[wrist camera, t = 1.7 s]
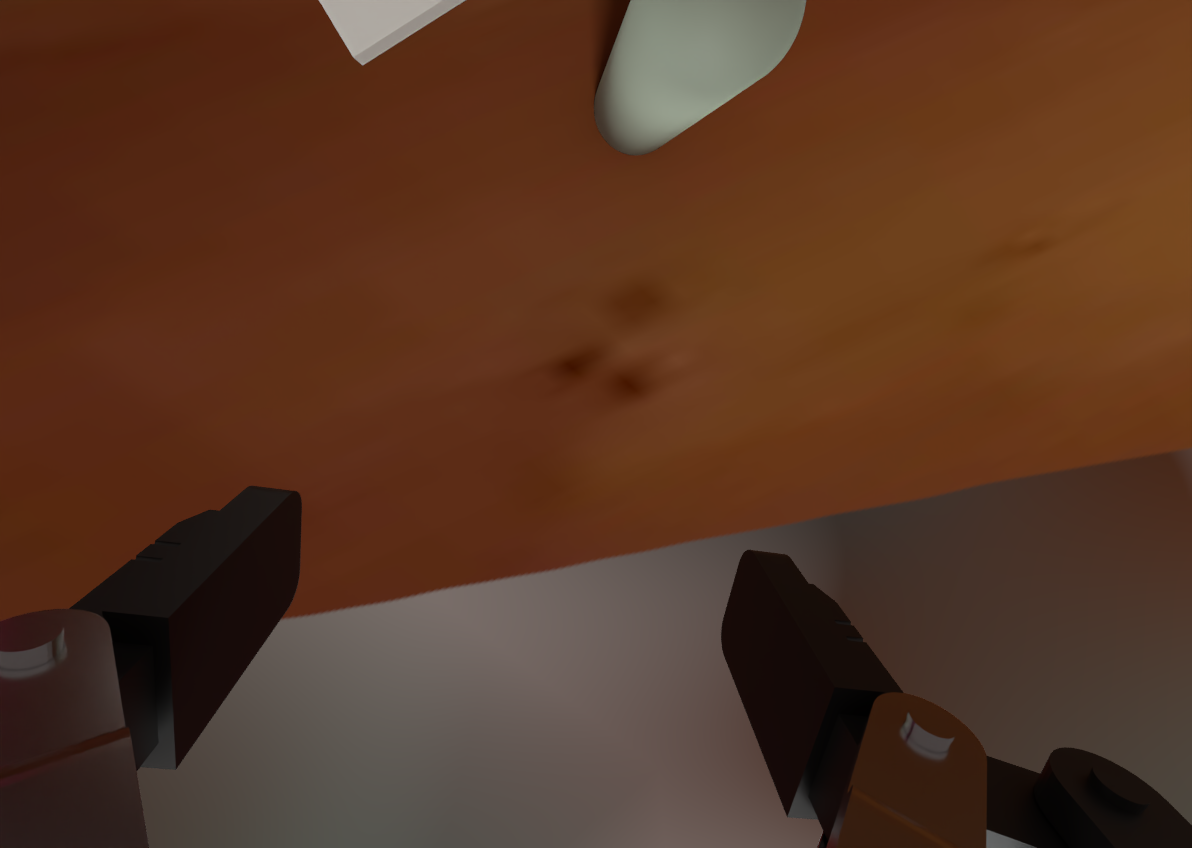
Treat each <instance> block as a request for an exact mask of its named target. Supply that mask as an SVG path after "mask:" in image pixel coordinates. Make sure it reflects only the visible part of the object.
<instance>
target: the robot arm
mask: <svg viewBox="0 0 1192 848" xmlns="http://www.w3.org/2000/svg"><path fill="white" fill-rule="evenodd" d="M301 514H302V503H301V497H300V494H299V493H298V492H297V491H289V490H282V489H274V488H266V487H258V486H249V487H247V488H246V489H245V490H243V491H242V492H241V493H240V494H239V495H238V496H236V497H235V498H234V499H233V500H232V501H231V502H229V503H228V504H227V505H226V506H225V507H224V508H222V509H221V510H220V511H216V510H208V511H205V512H203V513H201V514H198V515H196V516H193V517H191V518H188V519H186V520H184V521H181V522H179V523H177V524H176V525H174V526H173V527H172V528H171V529H169V530H168V531H167V532H166V533H164V534H163V535H162V536H161V537H159V538H158V539H157V540H155V544H150V545H149V546H148V547H147V548H145V549H144V550H143V551H142V552H140V553H139V554H138V555H136V559H135V560H132V559H131V560H130V561H129V562H128V563H126V564H125V565H124V566H123V567H121V568H120V569H119V570H118V571H116V572H115V573H114V574H112V575H111V576H110V577H109V578H107V579H106V580H105V581H104V582H102V583H101V584H100V585H99V586H97V587H96V588H95V589H93V590H92V591H91V592H90V593H88V594H87V595H86V596H85V597H83V598H82V599H81V600H80V601H78V602H77V603H76V604H74V605H73V606H72V607H71V608H69V609H53V610H43V611H38V612H32V613H27V614H23V615H19V616H15V617H12V618H9V619H6V620H3V621H0V848H149V844H148V838H147V832H146V826H145V820H144V813H143V807H142V801H141V795H140V789H139V783H138V777H137V770H138V769H139V768H140V767H147V768H160V769H174V770H176V769H177V767H178V766H179V765H180V763H181V762H182V760H183V759H184V757H185V756H186V754H187V753H188V751H189V750H190V749H191V747H192V746H193V744H194V743H195V742H196V740H197V739H198V737H199V736H200V734H201V733H202V731H203V730H204V729H205V727H206V726H207V724H208V723H209V721H210V720H211V719H212V717H213V716H214V714H215V713H216V711H217V710H218V708H219V707H220V706H221V704H222V703H223V701H224V700H225V698H226V697H227V696H228V694H229V693H230V691H231V690H232V688H233V687H234V685H235V684H236V683H237V681H238V680H239V678H240V677H241V675H242V674H243V672H244V671H245V670H246V668H247V666H248V665H249V664H250V662H251V661H252V660H253V658H254V657H255V655H256V654H257V652H258V651H259V649H260V648H261V647H262V645H263V644H264V642H265V641H266V640H267V638H268V637H269V635H270V634H271V632H272V631H273V629H274V628H275V627H276V625H277V624H278V622H279V621H280V619H281V618H282V617H283V615H284V614H285V612H286V611H287V609H288V608H289V606H290V604H291V602H292V600H293V598H294V595H295V592H296V589H297V585H298V580H299V574H300V548H301ZM850 623H851V622H850V620H849V619H848V617H847V616H846V615H845V613H844V612H843V611H842V609H841V608H840V607H839V605H838V604H837V603H836V602H835V601H834V600H833V599H831V598H830V597H829V596H828V595H826V594H825V593H824V592H822V591H821V590H820V589H819V588H817V587H816V586H815V585H814V584H808V582H807V581H806V579H805V578H804V577H803V575H802V574H801V572H800V571H799V569H798V568H797V567H796V565H795V564H794V562H793V561H792V559H791V558H790V557H789V556H788V555H785V554H778V553H770V552H762V551H753V550H747V551H745V552H744V553H743V555H742V557H741V559H740V562H739V565H738V569H737V572H736V576H735V579H734V583H733V586H732V590H731V593H730V597H729V600H728V604H727V607H726V611H725V615H724V618H723V623H722V632H721V642H722V650H723V654H724V657H725V659H726V662H727V664H728V667H729V669H730V672H731V675H732V677H733V680H734V682H735V685H736V687H737V690H738V693H739V695H740V697H741V700H742V703H743V705H744V708H745V710H746V713H747V715H748V718H749V721H750V723H751V726H752V728H753V730H754V733H755V736H756V738H757V741H758V743H759V746H760V749H761V751H762V754H763V756H764V759H765V761H766V764H767V767H768V769H769V771H770V774H771V777H772V779H773V782H774V784H775V787H776V790H777V792H778V795H779V797H780V800H781V802H782V805H783V807H784V810H785V812H786V815H787V817H791V818H805V819H818V820H819V822H820V824H821V827H822V829H823V833H822V835H821V838H820V840H819V843H818V845H817V848H1192V825H1191V824H1190V823H1189V822H1188V821H1187V820H1186V819H1184V817H1182V815H1181V814H1180V813H1179V812H1178V811H1177V810H1176V809H1174V807H1173V806H1172V805H1171V804H1169V802H1168V801H1167V800H1165V799H1164V798H1163V797H1162V796H1161V795H1160V794H1159V793H1158V792H1157V791H1155V790H1154V789H1153V788H1152V787H1151V786H1149V785H1148V784H1147V783H1145V782H1144V781H1142V780H1141V779H1140V778H1138V777H1137V776H1136V775H1134V774H1132V773H1130V772H1129V771H1128V770H1126V769H1124V768H1123V767H1120V766H1119V765H1117V764H1115V763H1113V762H1111V761H1109V760H1107V759H1105V758H1103V757H1101V756H1098V755H1096V754H1093V753H1090V752H1087V751H1084V750H1080V749H1075V748H1059V749H1056V750H1054V751H1053V752H1052V753H1051V754H1050V756H1049V758H1048V760H1047V762H1046V764H1045V766H1044V768H1043V770H1042V771H1041V773H1040V774H1039V773H1036V772H1034V771H1030V770H1028V769H1025V768H1022V767H1019V766H1016V765H1013V764H1010V763H1007V762H1004V761H1001V760H998V759H995V758H992V757H989V756H986V753H985V751H984V748H983V746H982V745H981V743H980V741H979V740H978V739H977V737H976V736H975V735H974V734H973V733H972V732H971V730H970V729H969V728H968V727H967V726H966V725H964V724H963V723H962V722H961V721H960V720H959V719H957V718H956V717H955V716H953V715H952V714H951V713H949V712H948V711H946V710H944V709H943V708H941V707H939V706H937V705H936V704H934V703H932V702H929V701H927V700H925V699H923V698H920V697H917V696H914V695H910V694H906V693H903V691H902V690H901V689H900V687H899V686H898V685H897V683H896V682H895V681H894V679H893V678H892V677H891V675H890V674H889V673H888V671H887V670H886V668H885V667H884V666H883V665H882V663H881V662H880V661H879V659H878V658H877V657H876V655H875V654H874V652H873V651H872V650H871V648H870V647H869V646H868V645H867V643H865V642H863V638H862V637H861V635H860V634H859V632H858V631H857V630H856V628H855V627H854V626H852V625H851V624H850Z"/></svg>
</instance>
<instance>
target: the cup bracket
mask: <svg viewBox="0 0 1192 848" xmlns="http://www.w3.org/2000/svg"><path fill="white" fill-rule="evenodd" d="M319 1H320V3H321V4H322V6H323V8H324V9H325V11H326V13H327V14H328V16H329V18H330V19H331V21H332V23H333V24H334V26H335V28H336V29H337V31H338V33H339V34H340V36H341V38H342V39H343V41H344V43H345V44H346V46H347V48H348V49H349V51H350V53H351V54H352V56H353V58H355V59H356V60H357V61H358V62H359V63H360V64H362V65H364V64H366V63H367V62H369V61H371V60H372V59H374V58H375V57H377V56H378V55H380V54H382V53H383V52H385V51H386V50H388V49H389V48H391V47H393V46H394V45H396V44H397V43H399V42H401V41H402V40H404V39H405V38H407V37H408V36H410V35H412V34H413V33H415V32H416V31H418V30H419V29H421V28H423V27H424V26H426V25H427V24H429V23H431V22H432V21H434V20H435V19H437V18H438V17H440V16H442V15H443V14H445V13H446V12H448V11H449V10H451V9H453V8H454V7H456V6H457V5H459V4H461V3H462V2H464V1H465V0H319Z"/></svg>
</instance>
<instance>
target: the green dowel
mask: <svg viewBox="0 0 1192 848" xmlns="http://www.w3.org/2000/svg"><path fill="white" fill-rule="evenodd" d="M805 4H806V0H631V1H630V3H629V6H628V9H627V11H626V14H625V17H624V19H623V22H622V25H621V27H620V30H619V33H618V35H617V38H616V41H615V43H614V46H613V49H612V51H611V54H610V57H609V59H608V62H607V65H606V67H605V70H604V73H603V75H602V78H601V81H600V83H599V86H598V89H597V92H596V95H595V100H594V116H595V121H596V124H597V127H598V129H599V132H600V133H601V135H602V137H603V138H604V139H605V141H606V142H607V143H608V144H609V145H610V146H612V147H613V148H614V149H616V150H618V151H619V152H622V153H624V154H628V155H644V154H647V153H650V152H653V151H655V150H656V149H658V148H659V147H661V146H662V145H664V144H665V143H667V142H668V141H670V140H671V139H673V138H674V137H676V136H677V135H678V134H680V133H681V132H683V131H684V130H686V129H687V128H689V127H690V126H692V125H693V124H695V123H696V122H698V121H699V120H701V119H702V118H703V117H705V116H706V115H708V114H709V113H711V112H712V111H714V110H715V109H717V108H718V107H720V106H721V105H723V104H724V103H726V102H727V101H729V100H730V99H731V98H733V97H734V96H736V95H737V94H739V93H740V92H742V91H743V90H745V89H746V88H748V87H749V86H751V85H752V84H754V83H755V82H756V81H758V80H759V79H761V78H762V77H764V76H765V75H767V74H768V73H769V72H770V71H771V70H772V69H774V68H775V67H776V66H777V64H778V63H779V62H780V61H781V60H782V59H783V58H784V56H785V55H786V53H787V52H788V50H789V49H790V47H791V45H792V43H793V42H794V40H795V38H796V36H797V33H798V31H799V28H800V26H801V22H802V18H803V15H804V10H805Z"/></svg>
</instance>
